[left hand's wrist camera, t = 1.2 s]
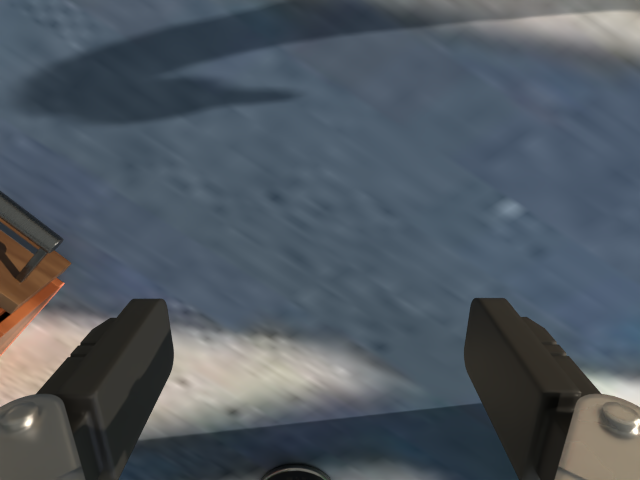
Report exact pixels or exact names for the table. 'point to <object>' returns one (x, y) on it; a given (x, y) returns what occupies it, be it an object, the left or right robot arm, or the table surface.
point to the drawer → (25, 256)
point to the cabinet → (25, 314)
